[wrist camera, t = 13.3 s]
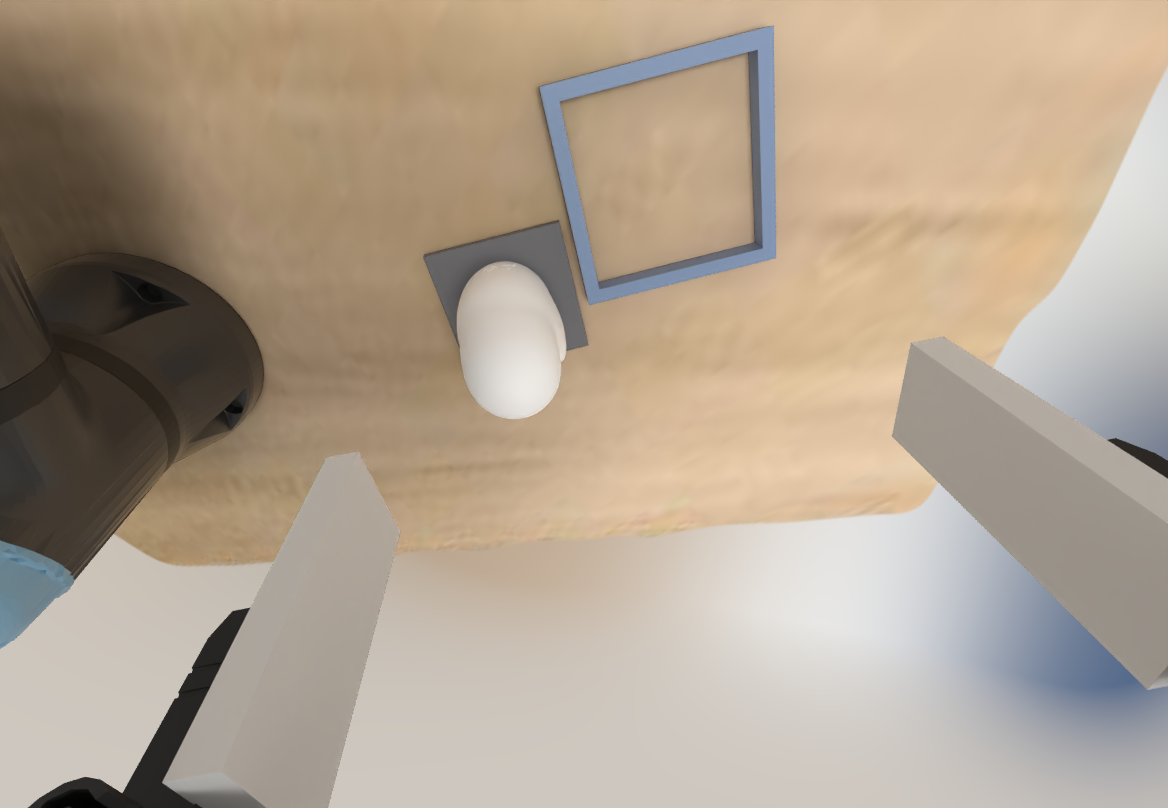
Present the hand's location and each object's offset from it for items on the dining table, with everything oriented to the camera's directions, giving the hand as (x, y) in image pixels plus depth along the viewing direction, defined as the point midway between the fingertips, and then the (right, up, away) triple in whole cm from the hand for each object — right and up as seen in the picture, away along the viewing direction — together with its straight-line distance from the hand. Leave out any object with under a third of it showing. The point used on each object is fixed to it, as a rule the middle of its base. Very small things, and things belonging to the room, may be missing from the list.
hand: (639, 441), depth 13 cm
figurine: (-7, +9, +27) cm, 29 cm away
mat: (-7, +9, +28) cm, 30 cm away
